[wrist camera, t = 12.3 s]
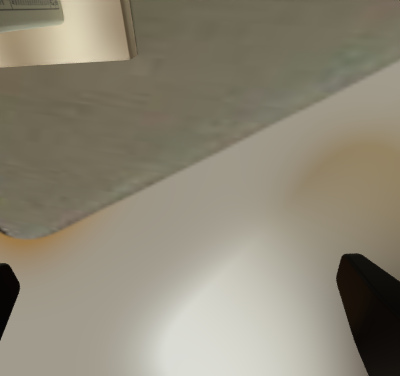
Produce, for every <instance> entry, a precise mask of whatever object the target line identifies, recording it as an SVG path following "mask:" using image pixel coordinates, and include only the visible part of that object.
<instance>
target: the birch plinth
mask: <svg viewBox="0 0 400 376" xmlns="http://www.w3.org/2000/svg"><path fill="white" fill-rule="evenodd" d="M59 1H60V4H61V8H62V13H63V17H64V22H63V23H62V24H61V25H55V26H48V27H41V28H34V29H25V30H17V31H10V32H3V33H0V67H14V66H31V65H48V64H65V63H82V62H99V61H116V60H130V59H132V58H133V57H135V56H137V55H138V54H137V48H136V41H135V35H134V28H133V21H132V15H131V8H130V2H129V0H59Z"/></svg>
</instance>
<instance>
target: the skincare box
mask: <svg viewBox="0 0 400 376" xmlns="http://www.w3.org/2000/svg"><path fill="white" fill-rule="evenodd" d="M63 22H64V17H63V13H62V8H61V4H60V1H59V0H0V33H3V32H10V31H17V30H25V29H34V28H41V27H48V26H55V25H61V24H62V23H63Z"/></svg>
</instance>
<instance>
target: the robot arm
mask: <svg viewBox="0 0 400 376" xmlns="http://www.w3.org/2000/svg"><path fill="white" fill-rule="evenodd" d="M336 281H337V286H338V289H339V292H340V296H341V299H342V302H343V305H344V309H345V312H346V316H347V319H348V322H349V325H350V329H351V332H352V335H353V338H354V341H355V343H356V346H357V349H358V352H359V354H360V356H361V359H362V361H363V363H364V366H365V368H366V371H367V373H368V375H369V376H400V281H398V280H397V279H395V278H394V277H393V276H391V275H390V274H388V273H387V272H386V271H384V270H383V269H381V268H380V267H378V266H377V265H376V264H374V263H373V262H371V261H370V260H368V259H367V258H366V257H364V256H363V255H361V254H357V253H356V254H344V255H343V256H342V257H341V260H340V264H339V268H338V272H337V276H336ZM19 290H20V284H19V281H18V279H17V278H16V276H15V274H14V272H13V271H12V269H11V267H10V266H9V265H8V264H6V263H0V340H1V337H2V335H3V332H4V330H5V327H6V325H7V322H8V320H9V317H10V314H11V312H12V309H13V306H14V304H15V301H16V299H17V296H18V294H19Z"/></svg>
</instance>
